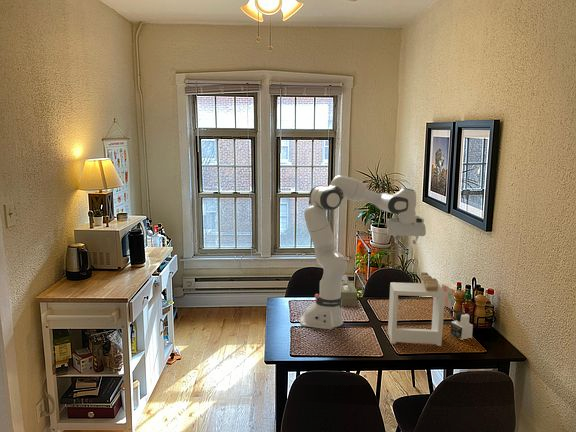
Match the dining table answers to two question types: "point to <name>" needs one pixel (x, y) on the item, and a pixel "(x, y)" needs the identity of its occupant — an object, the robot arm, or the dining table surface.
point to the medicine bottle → (461, 326)
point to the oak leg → (429, 282)
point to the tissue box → (348, 292)
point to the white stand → (416, 334)
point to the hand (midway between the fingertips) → (405, 243)
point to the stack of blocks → (449, 293)
